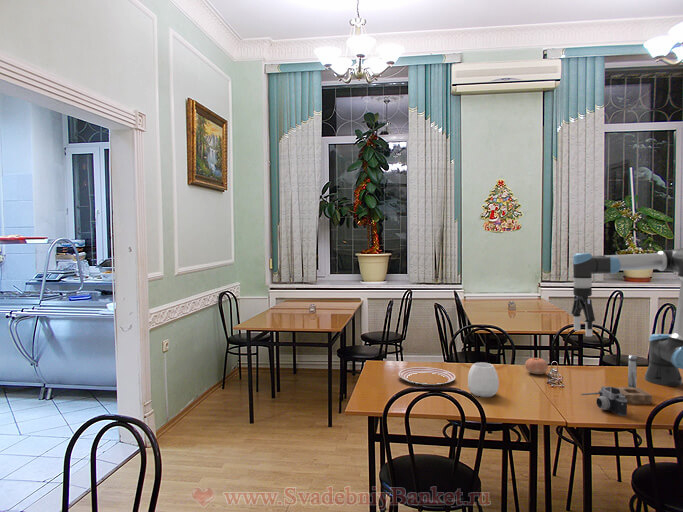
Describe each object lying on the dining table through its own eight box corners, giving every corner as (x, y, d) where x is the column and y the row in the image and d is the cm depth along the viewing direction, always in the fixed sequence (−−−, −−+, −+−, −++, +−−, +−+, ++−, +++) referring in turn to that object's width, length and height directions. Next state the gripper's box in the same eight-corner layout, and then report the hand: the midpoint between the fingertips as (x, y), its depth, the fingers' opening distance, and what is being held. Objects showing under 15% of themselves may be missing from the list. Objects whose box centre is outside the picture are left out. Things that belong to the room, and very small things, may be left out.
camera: (586, 404, 208) (586, 380, 208) (605, 403, 209) (605, 379, 208) (609, 417, 192) (609, 392, 192) (629, 416, 193) (629, 391, 193)
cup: (477, 388, 230) (477, 359, 230) (504, 394, 221) (504, 364, 220) (462, 394, 221) (462, 365, 221) (489, 401, 212) (489, 370, 211)
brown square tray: (638, 395, 218) (638, 387, 218) (652, 403, 207) (652, 395, 207) (612, 394, 219) (612, 387, 219) (624, 403, 208) (624, 395, 208)
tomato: (521, 370, 259) (521, 355, 259) (541, 370, 260) (541, 354, 260) (531, 376, 248) (531, 360, 248) (552, 375, 249) (552, 360, 249)
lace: (608, 392, 223) (608, 391, 223) (610, 392, 222) (610, 392, 222) (580, 394, 220) (581, 393, 220) (582, 394, 219) (582, 394, 219)
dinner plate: (463, 378, 248) (463, 371, 248) (443, 393, 225) (443, 385, 225) (412, 370, 263) (412, 364, 263) (389, 383, 240) (389, 377, 240)
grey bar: (634, 389, 226) (634, 354, 225) (637, 391, 223) (638, 356, 222) (626, 389, 226) (627, 354, 226) (630, 391, 223) (630, 356, 222)
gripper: (564, 284, 239) (564, 328, 240) (585, 290, 214) (585, 338, 215) (580, 284, 239) (580, 327, 239) (603, 289, 214) (603, 338, 215)
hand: (582, 333), depth 227 cm, fingers open, 13 cm apart
